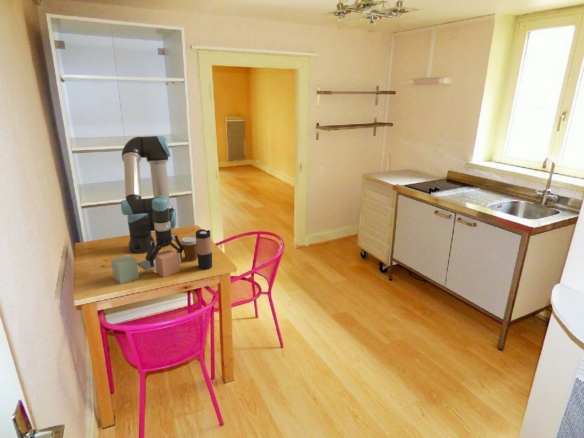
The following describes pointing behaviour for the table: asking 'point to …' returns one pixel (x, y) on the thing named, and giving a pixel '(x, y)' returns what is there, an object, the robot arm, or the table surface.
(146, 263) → the coaster
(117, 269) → the rounded sage cube
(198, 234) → the travel mug
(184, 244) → the disposable coffee cup
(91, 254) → the table surface
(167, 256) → the dusty pink cube
